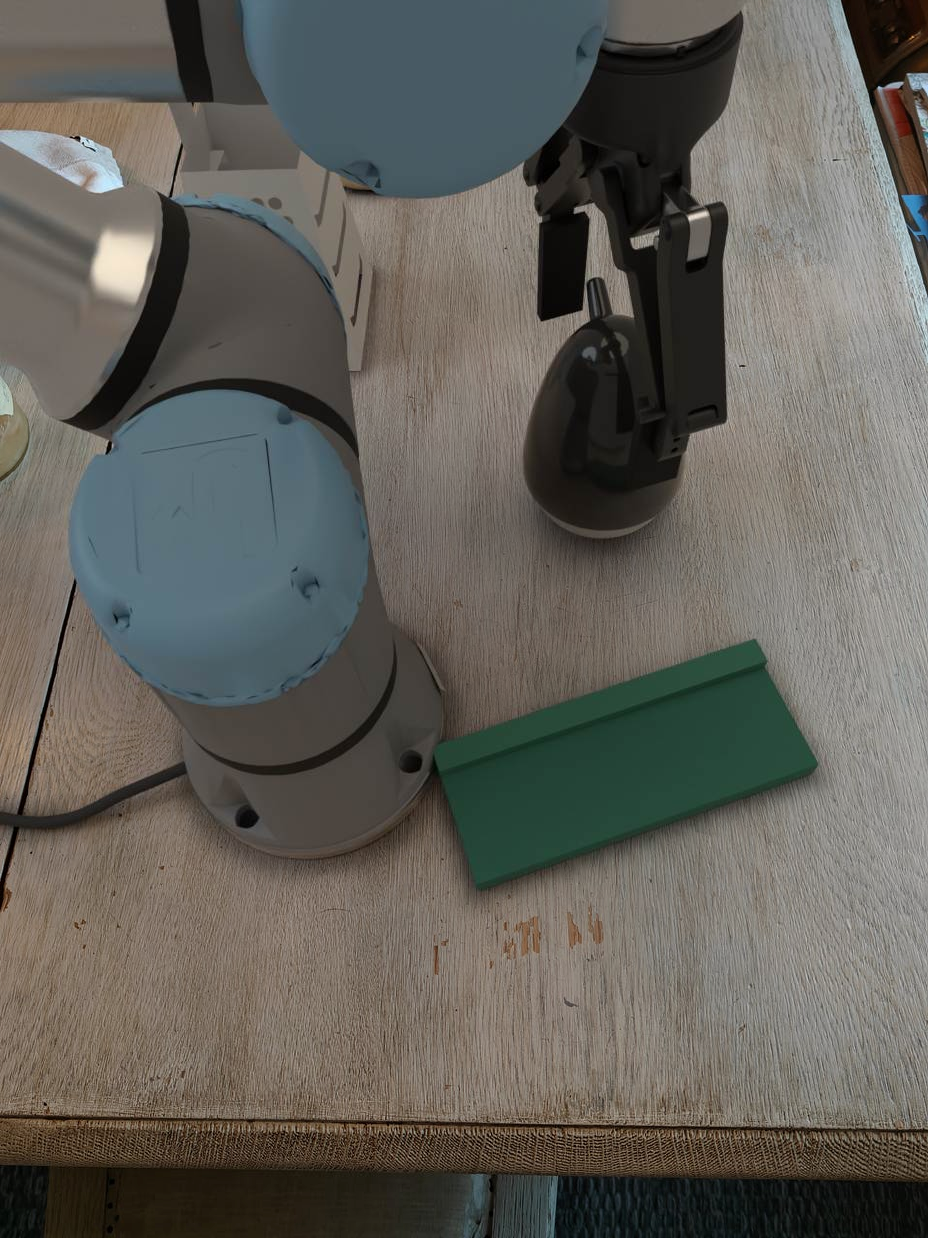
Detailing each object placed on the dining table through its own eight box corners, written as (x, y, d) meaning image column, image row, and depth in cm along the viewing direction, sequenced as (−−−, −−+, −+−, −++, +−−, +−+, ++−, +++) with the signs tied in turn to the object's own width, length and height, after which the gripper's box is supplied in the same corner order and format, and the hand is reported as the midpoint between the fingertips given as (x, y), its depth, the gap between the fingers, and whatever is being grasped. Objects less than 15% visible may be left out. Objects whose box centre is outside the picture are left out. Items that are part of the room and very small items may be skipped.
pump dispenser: (655, 427, 67) (685, 248, 54) (693, 550, 62) (736, 385, 48) (511, 448, 67) (505, 274, 54) (537, 573, 62) (537, 415, 48)
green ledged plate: (478, 891, 52) (476, 881, 50) (434, 760, 56) (430, 746, 54) (812, 773, 54) (823, 759, 52) (747, 655, 58) (755, 637, 56)
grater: (360, 370, 71) (305, 117, 54) (222, 372, 72) (124, 123, 55) (372, 272, 76) (325, 12, 59) (244, 275, 77) (160, 19, 60)
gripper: (910, 173, 31) (762, 541, 49) (611, -158, 43) (582, 237, 61) (696, 231, 30) (627, 583, 49) (452, -124, 42) (471, 267, 60)
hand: (602, 391), depth 55 cm, fingers open, 13 cm apart
